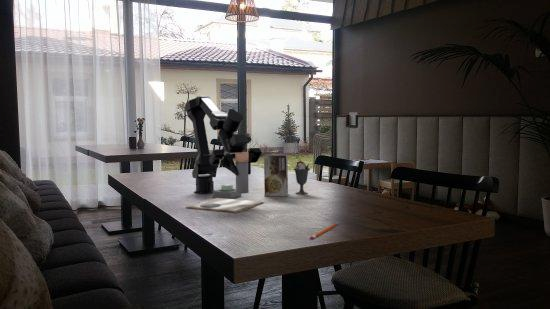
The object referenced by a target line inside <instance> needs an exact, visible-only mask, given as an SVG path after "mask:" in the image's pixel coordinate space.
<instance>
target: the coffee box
mask: <svg viewBox="0 0 550 309" xmlns="http://www.w3.org/2000/svg"><path fill="white" fill-rule="evenodd" d="M288 166H289V165H288V154H287V153H280V154H279V153H277V154H276V153H275V154H270V153H269V154H264V155H263V169H264V170H263V173H264V175H263V179H264V180H263V181H264V183H263V184H264V185H263V186H264V194H263V195H264V197H287V196H288V195H289V181H288V180H289V178H288V177H289V173H288V172H289V171H288V170H289V169H288Z"/></svg>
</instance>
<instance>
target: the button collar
mask: <svg viewBox="0 0 550 309" xmlns="http://www.w3.org/2000/svg"><path fill="white" fill-rule="evenodd" d="M214 190H215V189H214ZM241 196H242V194H241V193H236V188H233V191H231V192H226V191H222V188H220V189H216V190H215V191H213V192H212V197H213V198H212V199H214V198H224V199H235V198H238V197H241Z"/></svg>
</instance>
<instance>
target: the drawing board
mask: <svg viewBox="0 0 550 309" xmlns="http://www.w3.org/2000/svg"><path fill="white" fill-rule="evenodd" d="M261 204H264V201H261V200H249V199H246V200H245V199H235V198H232V199H225V198H211V199H207V200H204V201H201V202H200V201H199V202H198V203H193V204H190V205H187V206H185V208H186V209H191V210H201V211H210V212H211V211H212V212H222V213H230V214H231V213H233V214H238V213H241V212H243V211H247V210H250V209H251V208H254V207H257V206H259V205H261Z"/></svg>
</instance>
